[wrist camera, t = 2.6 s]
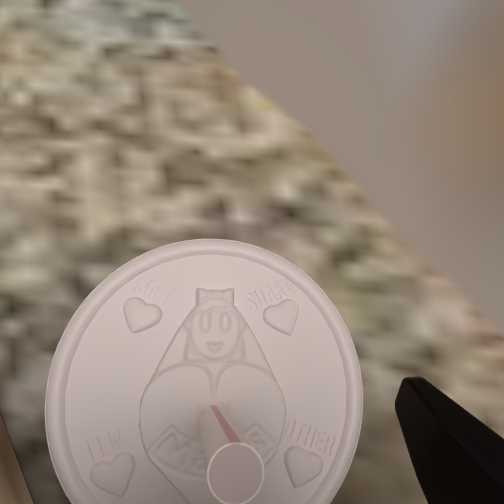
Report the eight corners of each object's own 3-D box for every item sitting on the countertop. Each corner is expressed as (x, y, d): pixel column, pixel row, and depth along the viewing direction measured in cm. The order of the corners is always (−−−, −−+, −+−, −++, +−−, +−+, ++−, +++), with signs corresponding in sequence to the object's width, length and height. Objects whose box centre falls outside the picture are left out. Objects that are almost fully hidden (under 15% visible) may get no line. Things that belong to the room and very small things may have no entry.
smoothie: (114, 465, 16) (-226, 914, 3) (125, 299, 18) (-59, 103, 5) (277, 459, 17) (589, 781, 4) (274, 301, 19) (482, 142, 5)
